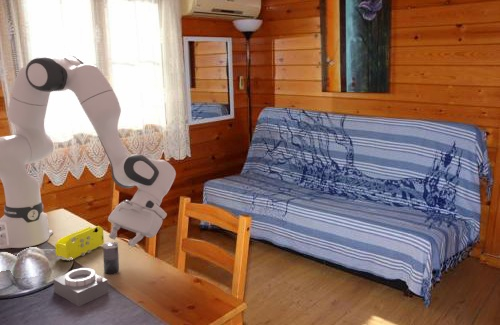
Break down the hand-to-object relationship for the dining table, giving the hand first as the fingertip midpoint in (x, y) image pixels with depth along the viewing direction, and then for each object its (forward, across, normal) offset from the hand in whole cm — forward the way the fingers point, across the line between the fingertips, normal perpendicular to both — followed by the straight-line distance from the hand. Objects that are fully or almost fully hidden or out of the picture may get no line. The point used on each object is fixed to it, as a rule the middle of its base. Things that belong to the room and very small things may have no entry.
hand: (120, 241), depth 130 cm
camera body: (+18, +4, -6) cm, 19 cm away
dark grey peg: (+9, 0, +3) cm, 9 cm away
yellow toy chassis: (+8, -20, +5) cm, 22 cm away
